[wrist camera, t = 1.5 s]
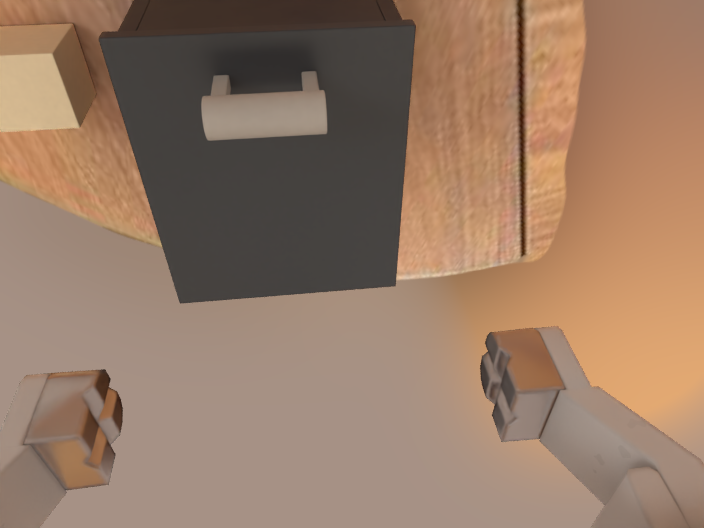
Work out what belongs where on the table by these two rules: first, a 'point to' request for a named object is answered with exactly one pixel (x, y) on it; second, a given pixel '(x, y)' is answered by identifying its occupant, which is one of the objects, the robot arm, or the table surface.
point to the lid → (270, 151)
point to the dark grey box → (252, 13)
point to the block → (43, 78)
